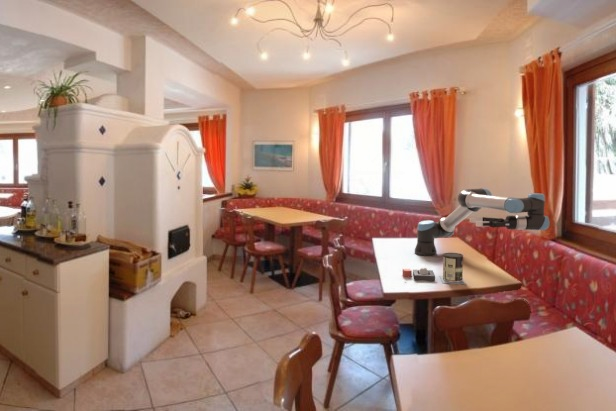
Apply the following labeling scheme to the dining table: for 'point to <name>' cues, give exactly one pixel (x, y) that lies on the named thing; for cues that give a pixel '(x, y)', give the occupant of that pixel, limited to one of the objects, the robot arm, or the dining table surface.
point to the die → (407, 273)
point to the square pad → (452, 282)
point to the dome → (423, 271)
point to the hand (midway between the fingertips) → (472, 221)
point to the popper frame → (423, 276)
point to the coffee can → (452, 267)
